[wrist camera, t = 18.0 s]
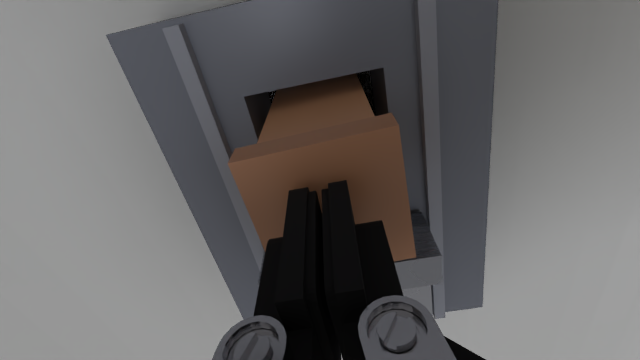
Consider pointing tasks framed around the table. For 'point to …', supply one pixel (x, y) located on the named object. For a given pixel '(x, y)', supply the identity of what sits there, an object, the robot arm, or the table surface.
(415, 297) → the shutter
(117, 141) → the table surface
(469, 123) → the socket box
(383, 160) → the plug
